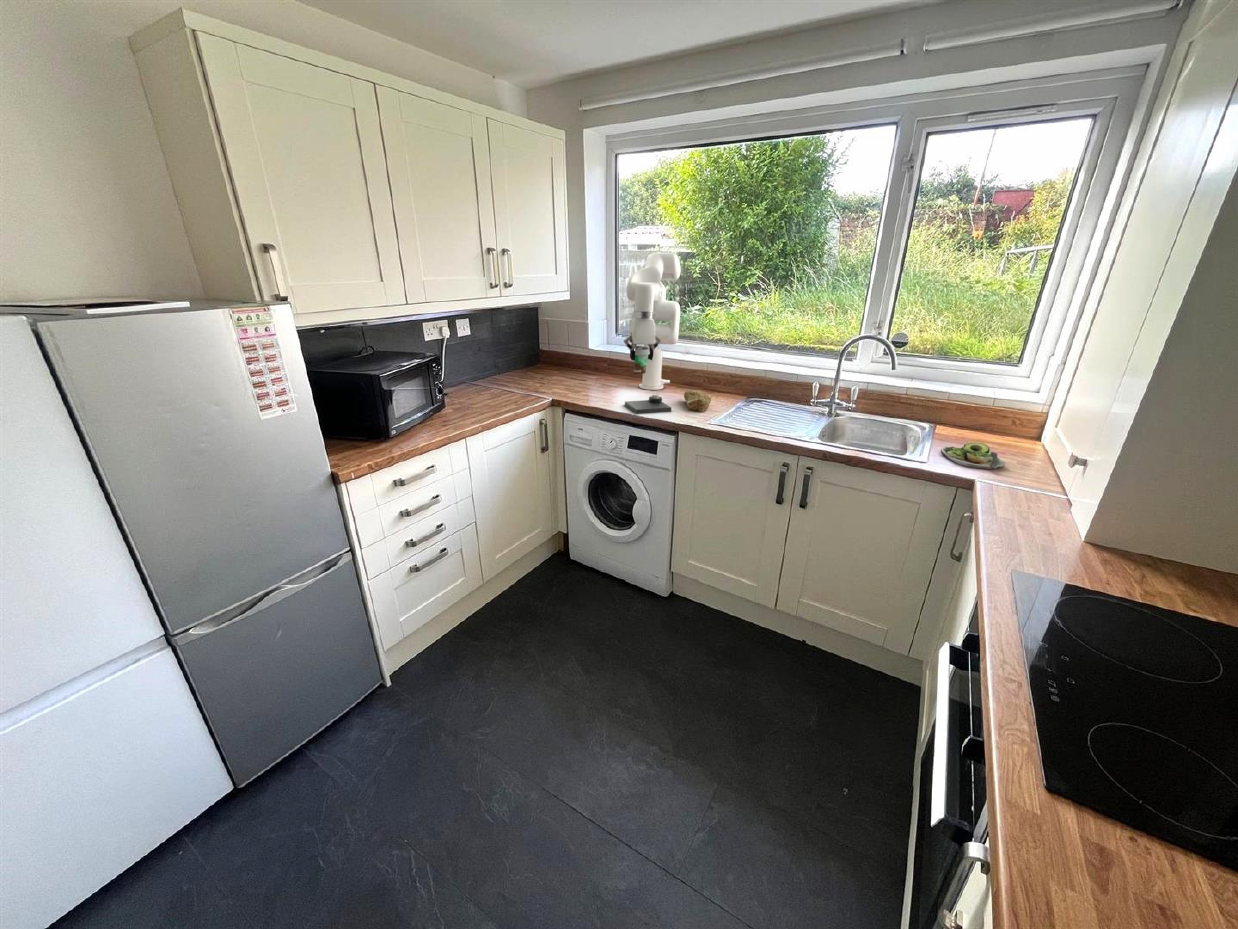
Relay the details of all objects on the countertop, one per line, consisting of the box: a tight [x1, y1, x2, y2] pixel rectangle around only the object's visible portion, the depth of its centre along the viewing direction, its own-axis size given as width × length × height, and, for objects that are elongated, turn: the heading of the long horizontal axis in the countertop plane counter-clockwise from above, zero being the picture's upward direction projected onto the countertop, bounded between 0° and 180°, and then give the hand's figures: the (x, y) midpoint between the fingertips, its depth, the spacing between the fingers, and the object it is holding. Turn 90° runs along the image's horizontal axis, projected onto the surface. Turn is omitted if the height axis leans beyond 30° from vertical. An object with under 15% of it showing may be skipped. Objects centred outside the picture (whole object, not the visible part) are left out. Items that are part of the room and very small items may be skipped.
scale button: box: [651, 393, 660, 399], centre depth 220 cm, size 3×3×2 cm
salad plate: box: [940, 442, 1007, 470], centre depth 165 cm, size 19×18×5 cm
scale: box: [624, 395, 672, 415], centre depth 215 cm, size 16×14×4 cm
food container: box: [633, 345, 650, 375], centre depth 208 cm, size 12×6×10 cm, turn 179°
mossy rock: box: [683, 389, 712, 412], centre depth 221 cm, size 13×8×20 cm
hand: (641, 359), depth 208 cm, fingers closed on food container, 7 cm apart
